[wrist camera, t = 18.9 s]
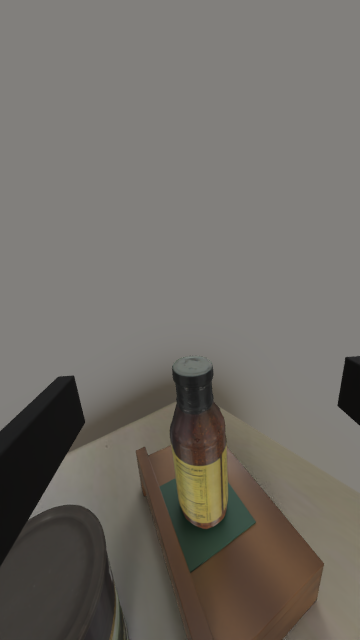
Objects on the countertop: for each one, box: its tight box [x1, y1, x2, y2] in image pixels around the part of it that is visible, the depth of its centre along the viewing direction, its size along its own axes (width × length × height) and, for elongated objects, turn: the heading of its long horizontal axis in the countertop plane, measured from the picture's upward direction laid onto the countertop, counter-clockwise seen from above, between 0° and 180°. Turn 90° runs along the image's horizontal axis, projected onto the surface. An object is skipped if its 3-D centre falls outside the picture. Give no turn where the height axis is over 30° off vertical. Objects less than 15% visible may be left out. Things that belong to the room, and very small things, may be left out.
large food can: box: [0, 505, 129, 640], centre depth 16 cm, size 10×10×14 cm
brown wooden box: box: [136, 445, 324, 640], centre depth 26 cm, size 14×20×8 cm
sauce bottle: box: [170, 356, 228, 529], centre depth 23 cm, size 7×6×20 cm
